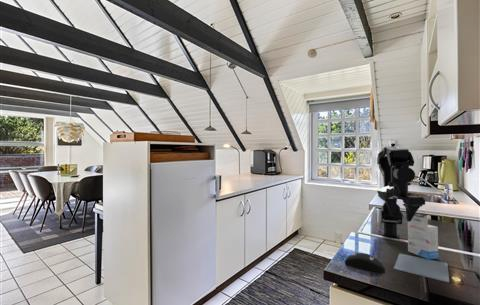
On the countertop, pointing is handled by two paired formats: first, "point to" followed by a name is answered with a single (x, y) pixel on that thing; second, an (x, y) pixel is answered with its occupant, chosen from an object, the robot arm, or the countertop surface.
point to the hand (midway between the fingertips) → (399, 218)
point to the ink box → (422, 238)
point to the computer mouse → (365, 262)
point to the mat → (422, 267)
